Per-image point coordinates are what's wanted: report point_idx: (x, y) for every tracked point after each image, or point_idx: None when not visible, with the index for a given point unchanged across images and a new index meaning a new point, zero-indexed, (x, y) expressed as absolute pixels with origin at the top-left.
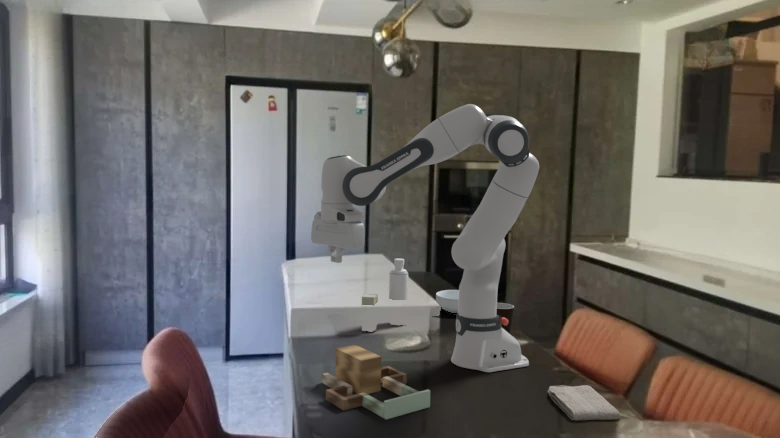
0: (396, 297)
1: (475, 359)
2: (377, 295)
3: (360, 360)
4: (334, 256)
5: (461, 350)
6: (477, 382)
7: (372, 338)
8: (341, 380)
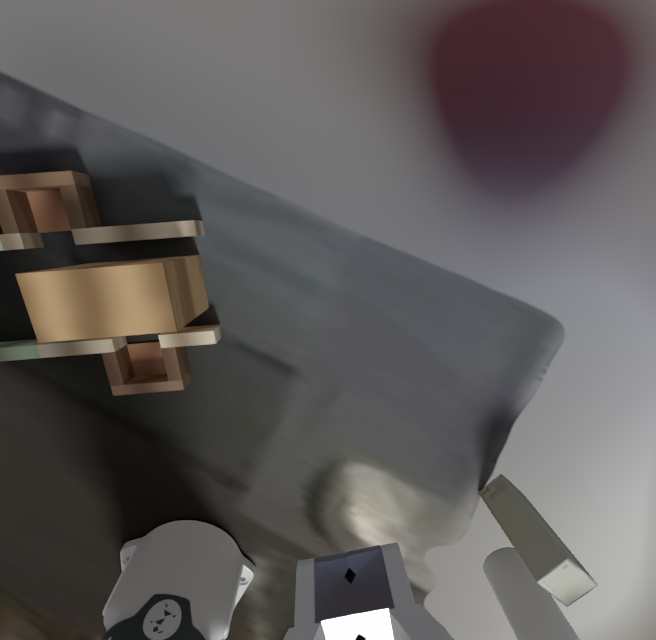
0: (536, 634)
1: (138, 555)
2: (561, 601)
3: (23, 273)
4: (341, 615)
5: (165, 556)
6: (82, 501)
7: (441, 470)
8: (124, 240)
